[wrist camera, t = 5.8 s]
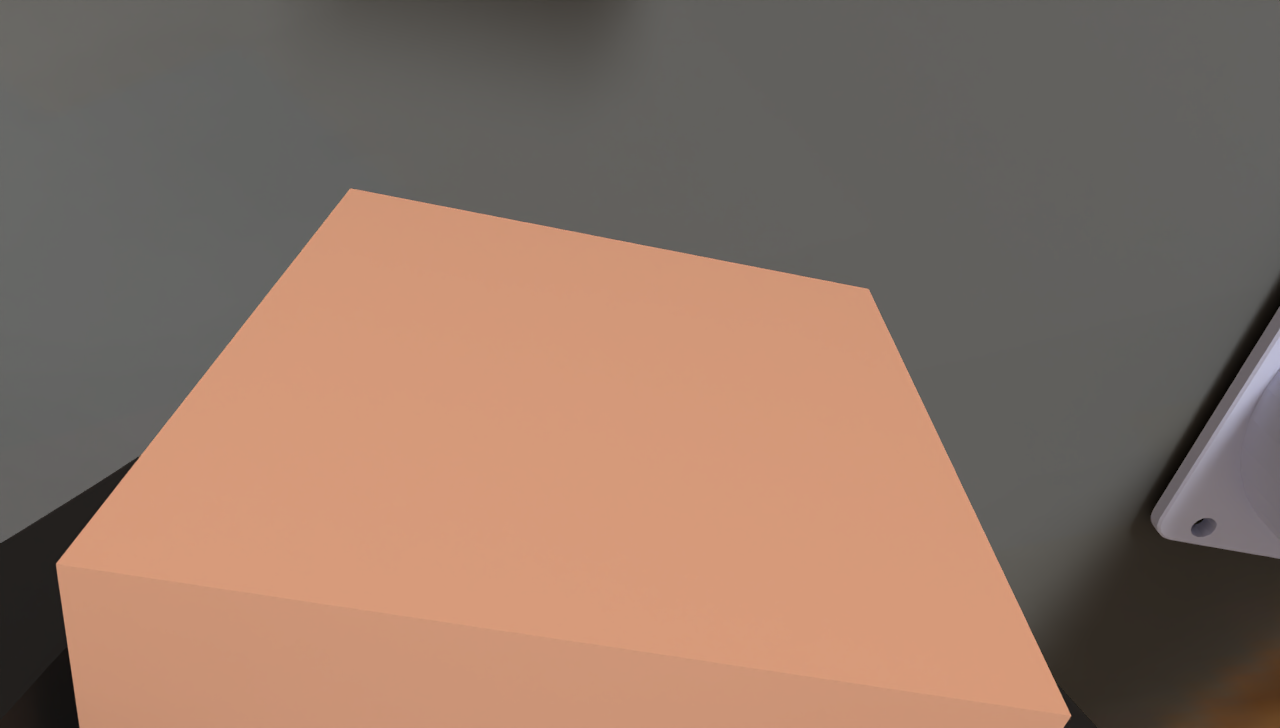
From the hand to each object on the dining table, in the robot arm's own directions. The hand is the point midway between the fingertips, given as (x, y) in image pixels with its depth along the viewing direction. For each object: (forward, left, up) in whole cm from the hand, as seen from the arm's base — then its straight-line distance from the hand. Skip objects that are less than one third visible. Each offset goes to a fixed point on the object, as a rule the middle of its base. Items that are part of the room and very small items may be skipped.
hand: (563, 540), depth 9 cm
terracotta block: (0, 0, -2) cm, 2 cm away
